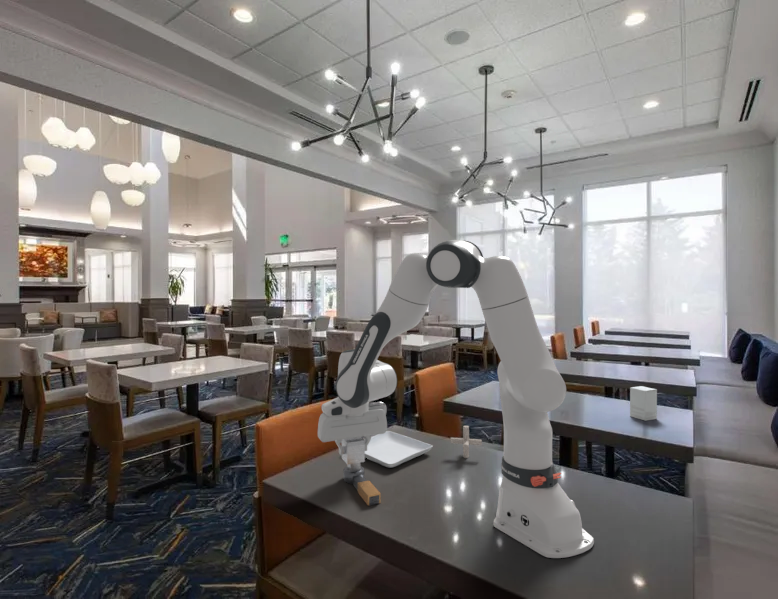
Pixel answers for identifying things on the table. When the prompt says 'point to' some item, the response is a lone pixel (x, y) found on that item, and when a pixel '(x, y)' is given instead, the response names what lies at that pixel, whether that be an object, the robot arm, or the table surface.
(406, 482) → the table surface
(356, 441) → the white speckled cube
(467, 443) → the pipe connector
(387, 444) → the salad plate
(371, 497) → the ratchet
